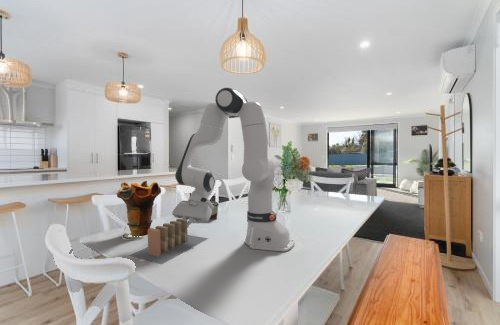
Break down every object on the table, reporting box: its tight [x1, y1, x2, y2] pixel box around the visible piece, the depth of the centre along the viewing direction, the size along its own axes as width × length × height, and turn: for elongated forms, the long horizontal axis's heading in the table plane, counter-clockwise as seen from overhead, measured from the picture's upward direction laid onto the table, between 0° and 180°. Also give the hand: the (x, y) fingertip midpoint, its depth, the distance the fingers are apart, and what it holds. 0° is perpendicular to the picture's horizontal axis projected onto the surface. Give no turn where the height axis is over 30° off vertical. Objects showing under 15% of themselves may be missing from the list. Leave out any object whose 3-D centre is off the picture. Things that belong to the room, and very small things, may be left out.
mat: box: [128, 234, 210, 265], centre depth 105 cm, size 18×29×1 cm, turn 154°
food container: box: [209, 201, 220, 220], centre depth 153 cm, size 12×6×10 cm, turn 84°
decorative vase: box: [116, 180, 162, 241], centre depth 124 cm, size 21×23×28 cm
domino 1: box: [147, 227, 161, 256], centre depth 96 cm, size 2×5×10 cm, turn 64°
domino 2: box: [155, 225, 168, 253], centre depth 100 cm, size 2×5×10 cm, turn 64°
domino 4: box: [169, 220, 182, 246], centre depth 107 cm, size 2×5×10 cm, turn 64°
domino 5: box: [175, 218, 189, 243], centre depth 110 cm, size 2×5×10 cm, turn 64°
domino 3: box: [162, 222, 175, 249], centre depth 103 cm, size 2×5×10 cm, turn 64°
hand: (184, 226), depth 112 cm, fingers closed
